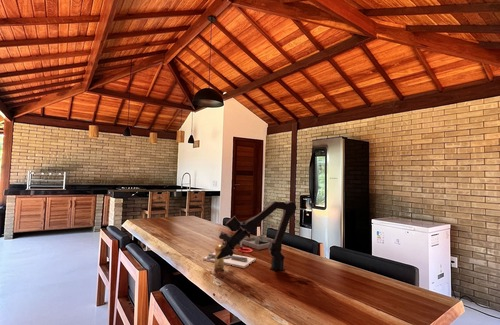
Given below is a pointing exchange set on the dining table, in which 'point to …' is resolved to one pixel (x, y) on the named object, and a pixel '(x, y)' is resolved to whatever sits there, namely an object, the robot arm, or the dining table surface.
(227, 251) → the robot arm
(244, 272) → the dining table surface
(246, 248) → the tow hook
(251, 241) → the parts tray
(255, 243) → the metal bracket
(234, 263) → the plate
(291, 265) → the dining table surface
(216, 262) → the tan gold domed cylinder
